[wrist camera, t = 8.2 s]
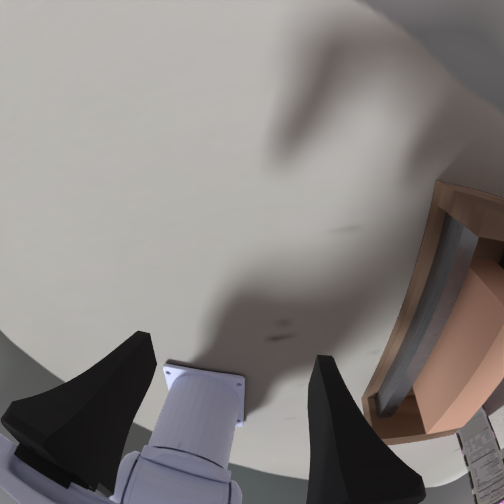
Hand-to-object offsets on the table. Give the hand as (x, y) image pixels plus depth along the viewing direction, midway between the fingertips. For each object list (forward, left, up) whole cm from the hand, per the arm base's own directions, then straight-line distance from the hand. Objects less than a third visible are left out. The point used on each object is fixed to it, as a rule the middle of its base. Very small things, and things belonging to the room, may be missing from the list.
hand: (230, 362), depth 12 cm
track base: (-4, -17, -9) cm, 20 cm away
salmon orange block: (-4, -17, -8) cm, 19 cm away
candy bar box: (-22, -32, -10) cm, 40 cm away
